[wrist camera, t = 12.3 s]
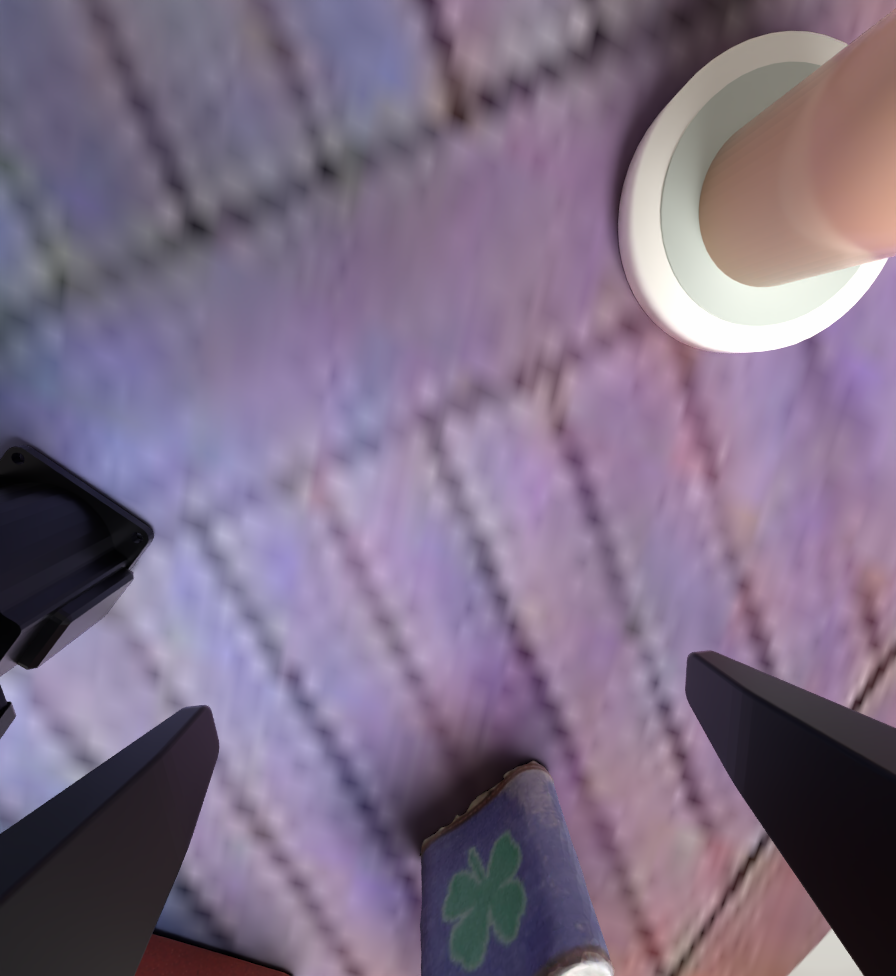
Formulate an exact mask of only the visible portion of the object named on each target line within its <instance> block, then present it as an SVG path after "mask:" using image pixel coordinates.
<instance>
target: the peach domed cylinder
mask: <svg viewBox="0 0 896 976" xmlns="http://www.w3.org/2000/svg"><path fill="white" fill-rule="evenodd" d="M699 225H700V232H701V236H702V240H703V243H704V245H705V248H706V250H707V252H708V254H709V256H710V258H711V259H712V261H713V262H714V263H715V265H716V266H717V267H718V268H719V269H720V270H721V271H722V272H723V273H724V274H725V275H727V276H728V277H730V278H731V279H733V280H735V281H737V282H739V283H741V284H744V285H748V286H753V287H773V286H779V285H783V284H786V283H790V282H794V281H798V280H802V279H806V278H810V277H814V276H818V275H822V274H826V273H830V272H834V271H838V270H842V269H846V268H849V267H853V266H857V265H861V264H865V263H869V262H873V261H877V260H881V259H885V258H889V257H893V256H896V8H895V9H894V10H893V11H892V12H890V13H889V14H888V15H886V16H885V17H884V18H883V19H881V20H880V21H879V22H877V23H876V24H875V25H873V26H872V27H871V28H870V29H868V30H867V31H866V32H864V33H863V34H862V35H860V36H859V37H858V38H857V39H855V40H854V41H853V42H851V43H850V44H849V45H848V46H846V47H845V48H844V49H842V50H841V51H840V52H838V53H837V54H836V55H835V56H833V57H832V58H831V59H829V60H828V61H827V62H826V63H824V64H823V65H822V66H820V67H819V68H818V69H816V70H815V71H814V72H813V73H811V74H810V75H809V76H807V77H806V78H805V79H804V80H802V81H801V82H800V83H798V84H797V85H796V86H794V87H793V88H792V89H791V90H789V91H788V92H787V93H785V94H784V95H783V96H782V97H780V98H779V99H778V100H776V101H775V102H774V103H772V104H771V105H770V106H769V107H767V108H766V109H765V110H763V111H762V112H761V113H759V114H758V115H757V116H756V117H754V118H753V119H752V120H750V121H749V122H748V123H747V124H745V125H744V126H743V127H741V128H740V129H739V130H738V131H736V132H735V133H734V134H733V135H732V136H731V137H730V138H729V139H728V140H727V141H726V142H725V143H724V145H723V146H722V147H721V149H720V150H719V151H718V153H717V154H716V156H715V158H714V159H713V161H712V163H711V165H710V167H709V169H708V171H707V173H706V176H705V179H704V182H703V185H702V190H701V194H700V201H699Z"/></svg>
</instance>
